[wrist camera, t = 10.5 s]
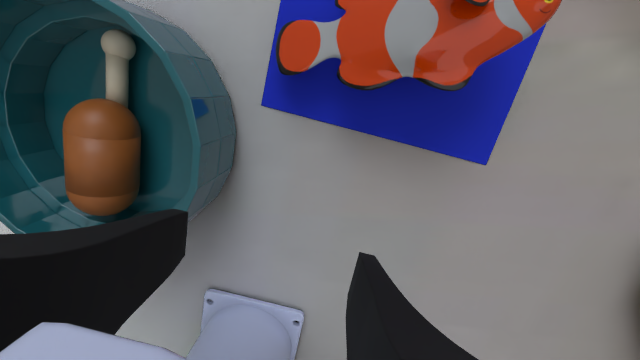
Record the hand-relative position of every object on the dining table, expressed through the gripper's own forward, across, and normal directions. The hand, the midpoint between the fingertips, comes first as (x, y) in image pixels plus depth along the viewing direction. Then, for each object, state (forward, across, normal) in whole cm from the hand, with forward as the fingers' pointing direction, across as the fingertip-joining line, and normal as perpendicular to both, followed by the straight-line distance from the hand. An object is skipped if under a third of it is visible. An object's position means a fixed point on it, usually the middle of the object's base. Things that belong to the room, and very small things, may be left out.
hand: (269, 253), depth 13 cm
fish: (+10, -4, -11) cm, 15 cm away
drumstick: (+9, +13, -2) cm, 15 cm away
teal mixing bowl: (+9, +12, -2) cm, 16 cm away
